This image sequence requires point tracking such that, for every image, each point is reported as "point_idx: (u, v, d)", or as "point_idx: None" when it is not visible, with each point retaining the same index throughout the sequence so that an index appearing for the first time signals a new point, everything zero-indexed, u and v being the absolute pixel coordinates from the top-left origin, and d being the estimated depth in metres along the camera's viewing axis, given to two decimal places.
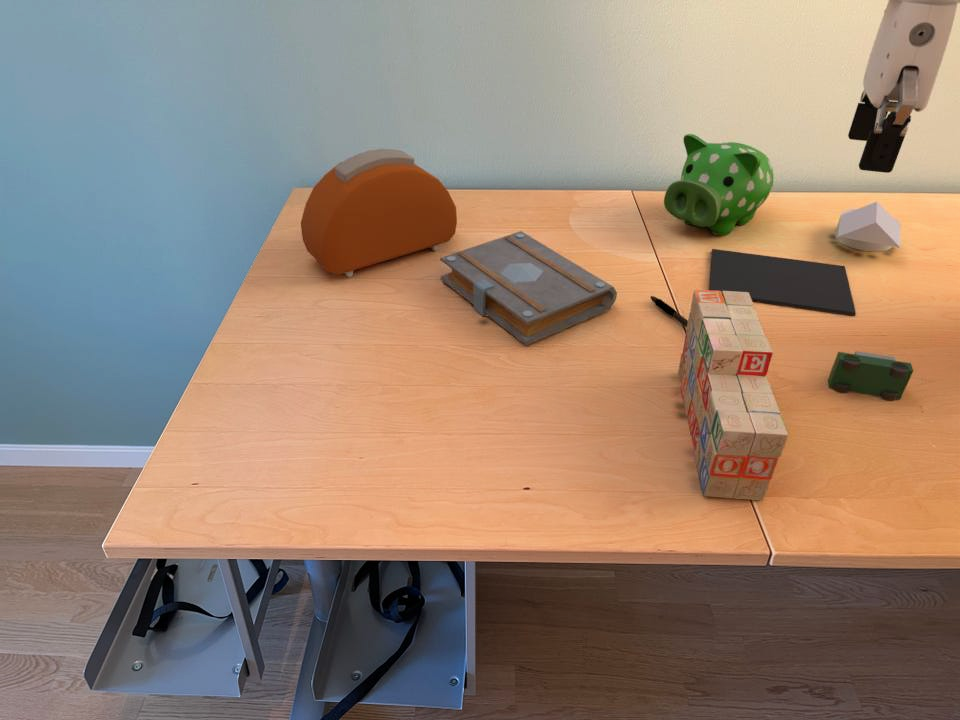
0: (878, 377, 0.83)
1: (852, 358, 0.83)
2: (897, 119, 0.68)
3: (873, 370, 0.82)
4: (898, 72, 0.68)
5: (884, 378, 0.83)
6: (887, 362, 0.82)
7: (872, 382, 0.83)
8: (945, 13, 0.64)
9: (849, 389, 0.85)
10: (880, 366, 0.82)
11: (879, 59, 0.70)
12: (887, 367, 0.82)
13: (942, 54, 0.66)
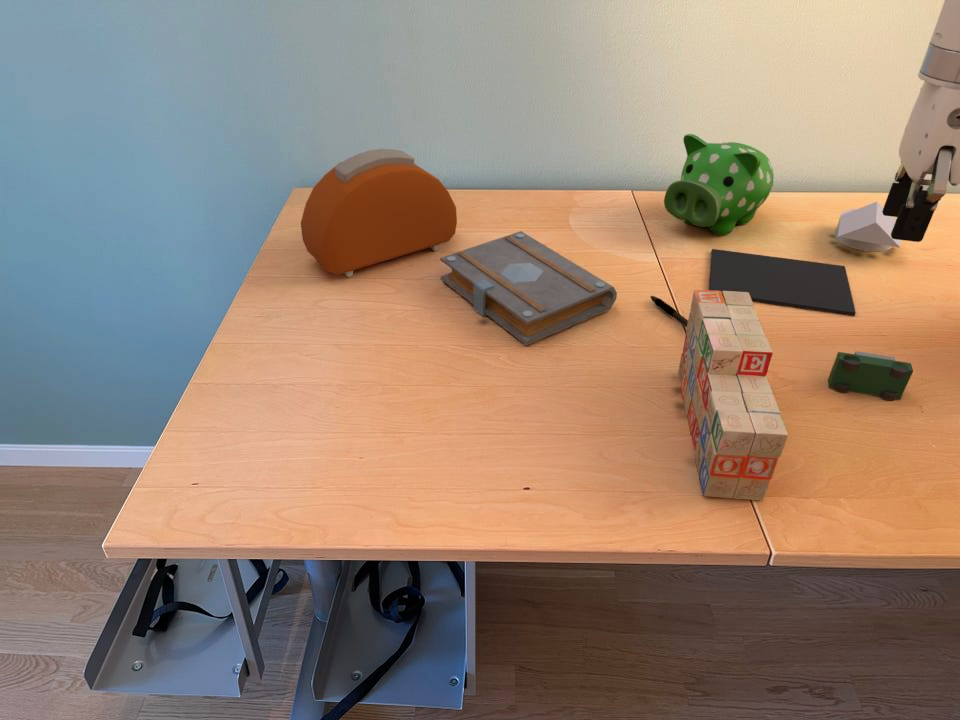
0: (878, 377, 0.83)
1: (852, 358, 0.83)
2: None
3: (873, 370, 0.82)
4: (936, 151, 0.72)
5: (884, 378, 0.83)
6: (887, 362, 0.82)
7: (872, 382, 0.83)
8: None
9: (849, 389, 0.85)
10: (880, 366, 0.82)
11: (917, 136, 0.74)
12: (887, 367, 0.82)
13: None
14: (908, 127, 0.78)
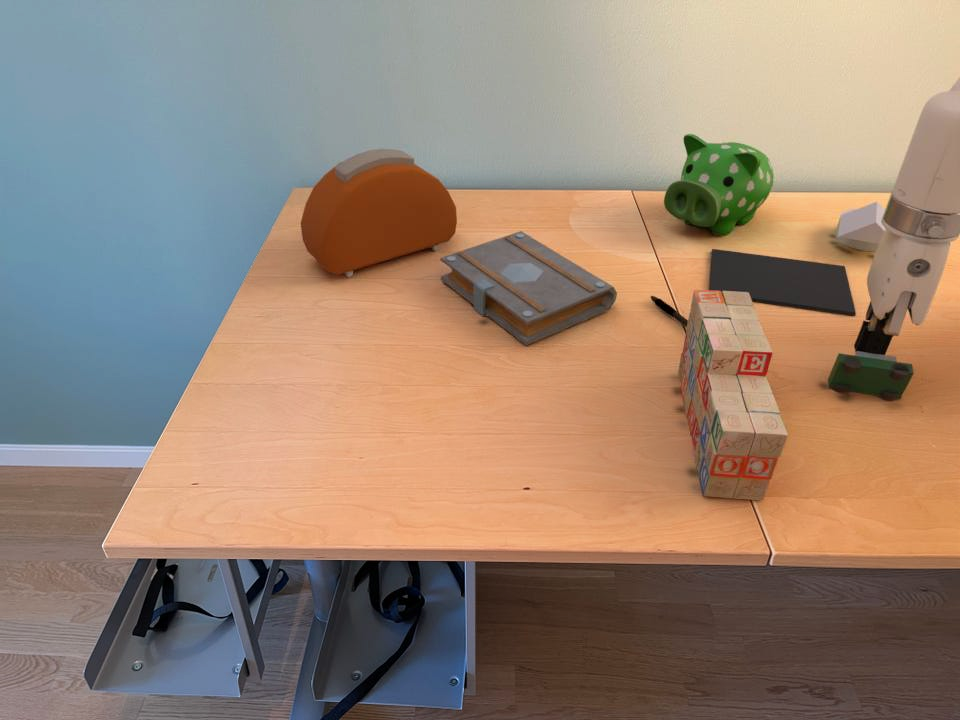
0: (879, 379, 0.83)
1: (852, 360, 0.83)
2: None
3: (873, 372, 0.82)
4: (897, 295, 0.75)
5: (884, 379, 0.82)
6: (888, 363, 0.82)
7: (873, 383, 0.83)
8: (939, 253, 0.72)
9: (849, 389, 0.85)
10: (881, 369, 0.82)
11: (881, 277, 0.78)
12: (887, 369, 0.81)
13: (937, 284, 0.74)
14: (874, 262, 0.81)
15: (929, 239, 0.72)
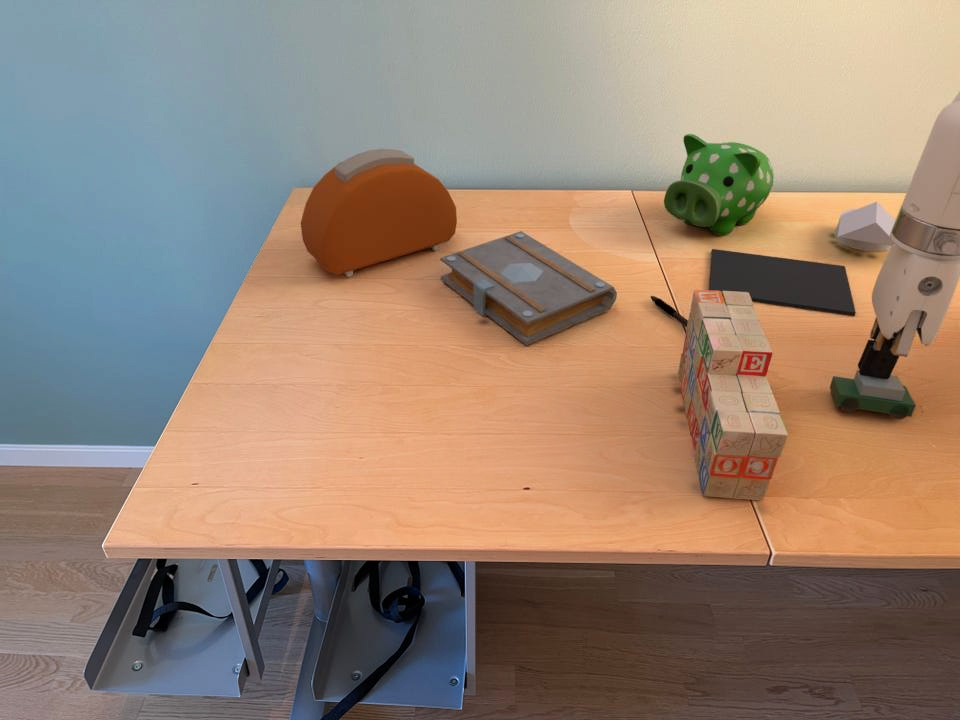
0: None
1: (851, 403, 0.80)
2: None
3: None
4: (907, 314, 0.72)
5: None
6: (889, 406, 0.79)
7: None
8: (952, 270, 0.68)
9: None
10: (878, 411, 0.80)
11: (889, 295, 0.74)
12: (884, 412, 0.80)
13: (949, 303, 0.70)
14: (880, 278, 0.78)
15: (941, 256, 0.69)
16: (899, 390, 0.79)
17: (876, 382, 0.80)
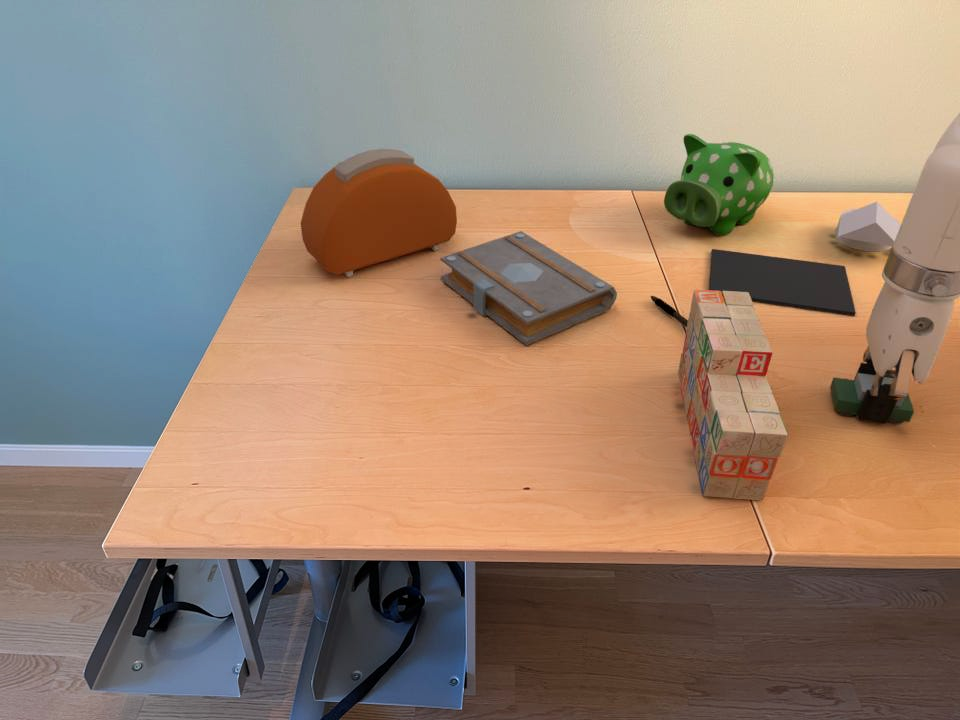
0: None
1: (849, 408, 0.81)
2: None
3: None
4: (899, 353, 0.72)
5: None
6: None
7: None
8: (943, 311, 0.69)
9: None
10: None
11: (881, 332, 0.74)
12: None
13: (940, 342, 0.71)
14: (874, 314, 0.78)
15: (932, 297, 0.69)
16: None
17: None
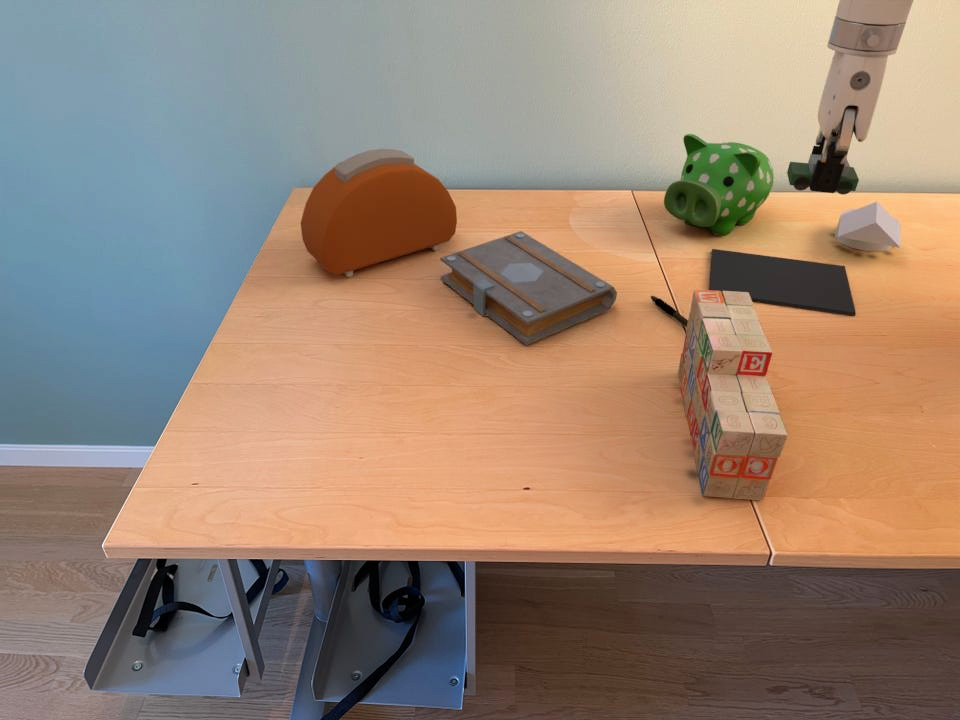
0: None
1: (802, 182, 0.91)
2: None
3: None
4: (842, 110, 0.83)
5: None
6: None
7: None
8: (878, 64, 0.79)
9: None
10: None
11: (828, 99, 0.85)
12: None
13: (877, 96, 0.81)
14: (823, 92, 0.89)
15: (868, 52, 0.80)
16: (845, 166, 0.89)
17: None
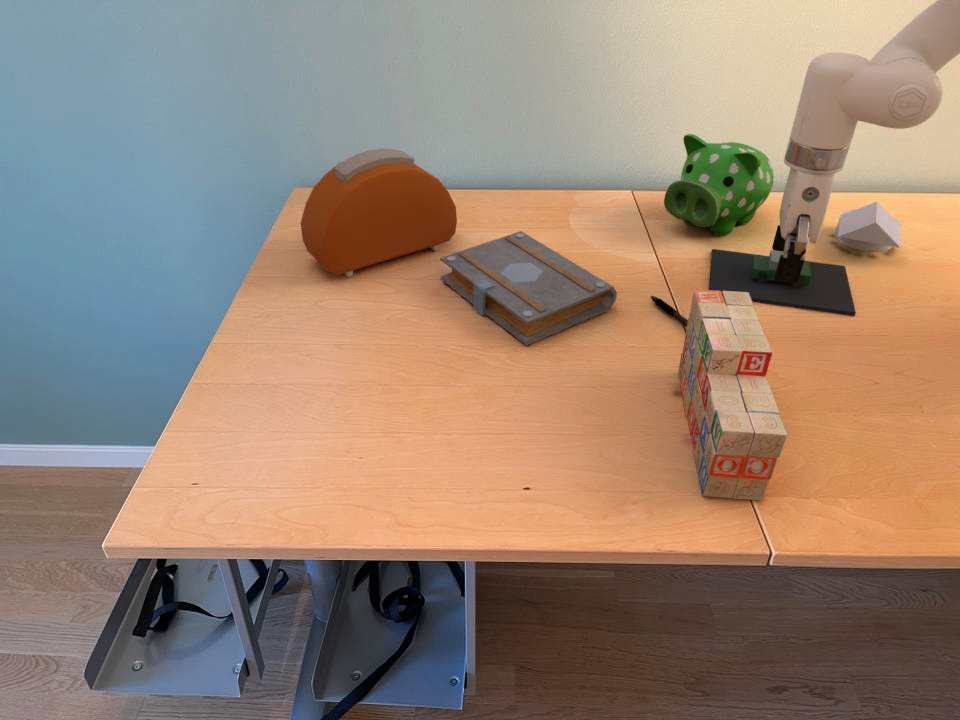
0: None
1: (762, 276, 1.04)
2: (796, 251, 0.95)
3: None
4: (796, 218, 0.95)
5: None
6: None
7: None
8: (825, 181, 0.92)
9: None
10: None
11: (785, 205, 0.97)
12: None
13: (825, 207, 0.93)
14: (783, 195, 1.01)
15: (817, 171, 0.92)
16: None
17: None
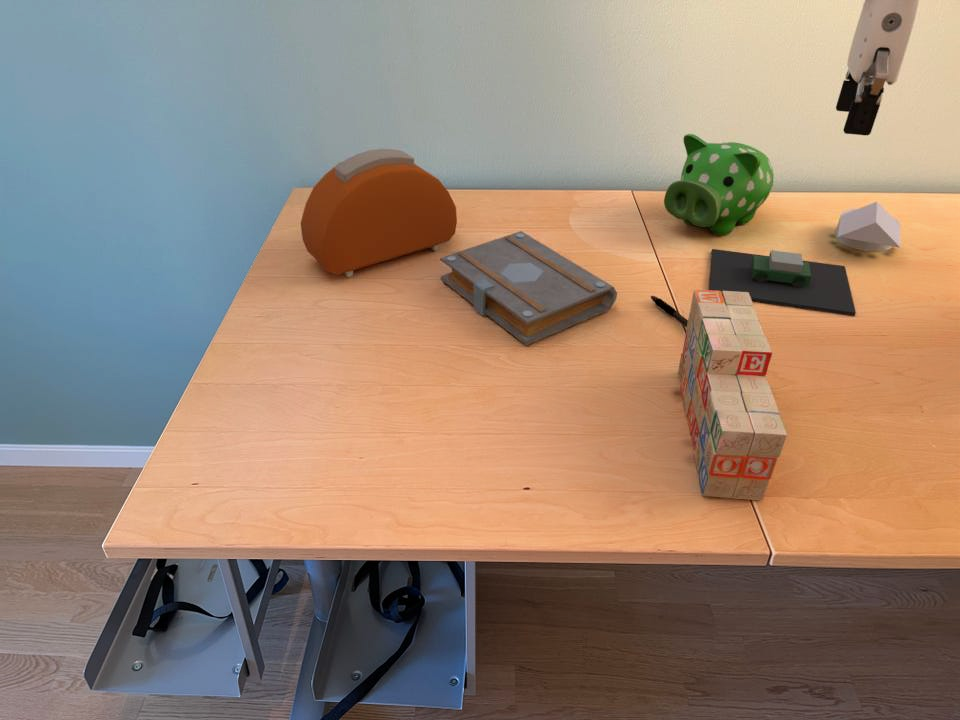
0: None
1: (762, 276, 1.04)
2: (873, 90, 0.85)
3: None
4: (873, 53, 0.85)
5: None
6: (791, 277, 1.03)
7: None
8: (909, 5, 0.81)
9: None
10: (783, 281, 1.04)
11: (859, 43, 0.87)
12: (788, 282, 1.03)
13: (908, 38, 0.83)
14: (853, 38, 0.91)
15: None
16: (799, 264, 1.02)
17: (782, 258, 1.03)
